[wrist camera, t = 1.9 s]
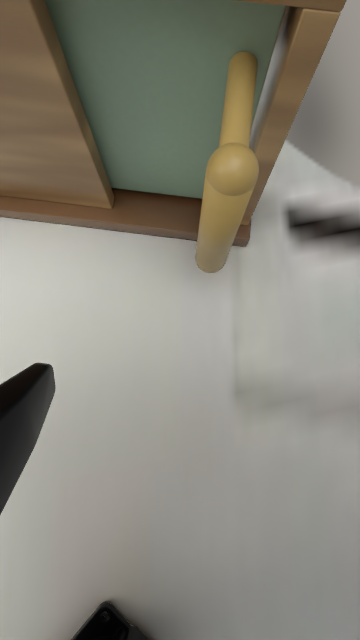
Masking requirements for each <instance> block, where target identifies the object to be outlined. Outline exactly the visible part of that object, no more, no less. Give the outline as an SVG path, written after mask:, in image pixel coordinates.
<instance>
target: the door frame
mask: <svg viewBox="0 0 360 640" xmlns="http://www.w3.org/2000/svg"><path fill="white" fill-rule="evenodd" d="M235 1H245V2H254V3H264V4H273V5H283V6H286V8H285V12H284V15H283V19H282V22H281V26H280V29H279V33H278V36H277V40H276V43H275V47H274V50H273V54H272V57H271V61H270V65H269V68H268V72H267V75H266V79H265V82H264V86H263V89H262V93H261V96H260V100H259V103H258V107H257V110H256V114H255V117H254V121H253V124H252V128H251V133H250V143H249V148H250V149H251V150H252V151H253V152H254V154H255V156H256V158H257V160H258V164H259V174H258V179H257V182H256V184H255V187H254V189H253V192H252V195H251V197H250V200H249V202H248V205H247V208H246V210H245V213H244V215H243V218H242V221H241V223H240V226H239V228H238V231H237V234H236V236H235V239H234V241H233V244H232V245H237V246H246V245H247V243H248V241H249V238H250V227H251V217H252V215H253V212H254V210H255V208H256V205H257V203H258V201H259V199H260V196H261V194H262V192H263V189H264V187H265V185H266V183H267V180H268V178H269V176H270V173H271V171H272V169H273V167H274V164H275V162H276V160H277V157H278V155H279V153H280V151H281V148H282V146H283V144H284V141H285V139H286V137H287V135H288V132H289V130H290V128H291V125H292V123H293V121H294V119H295V116H296V114H297V111H298V109H299V107H300V105H301V102H302V100H303V98H304V96H305V93H306V91H307V89H308V86H309V84H310V82H311V80H312V77H313V75H314V73H315V70H316V68H317V66H318V64H319V61H320V59H321V57H322V55H323V52H324V50H325V48H326V45H327V43H328V41H329V39H330V36H331V34H332V32H333V29H334V27H335V25H336V22H337V20H338V18H339V16H340V11H341V10H342V9H343V7H344V5H345V2H346V0H235ZM201 207H202V199H201V198H193V197H185V196H176V195H168V194H160V193H151V192H143V191H134V190H126V189H118V188H111V185H110V183H109V180H108V177H107V174H106V171H105V168H104V166H103V163H102V160H101V157H100V154H99V152H98V149H97V146H96V143H95V140H94V138H93V135H92V132H91V129H90V126H89V124H88V121H87V118H86V115H85V112H84V109H83V107H82V104H81V101H80V98H79V95H78V93H77V90H76V87H75V84H74V81H73V79H72V76H71V73H70V70H69V67H68V64H67V62H66V59H65V56H64V53H63V50H62V48H61V45H60V42H59V39H58V36H57V34H56V31H55V28H54V25H53V22H52V20H51V17H50V14H49V11H48V8H47V5H46V3H45V0H0V217H8V218H17V219H25V220H33V221H41V222H49V223H57V224H66V225H74V226H82V227H90V228H98V229H106V230H115V231H123V232H131V233H139V234H147V235H155V236H164V237H172V238H180V239H188V240H196V241H197V239H198V231H199V223H200V215H201Z"/></svg>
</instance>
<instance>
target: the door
mask: <svg viewBox="0 0 360 640" xmlns="http://www.w3.org/2000/svg"><path fill="white" fill-rule="evenodd" d="M45 3H46V5H47V8H48V11H49V14H50V17H51V20H52V22H53V25H54V28H55V31H56V34H57V36H58V39H59V42H60V45H61V48H62V50H63V53H64V56H65V59H66V62H67V64H68V67H69V70H70V73H71V76H72V79H73V81H74V84H75V87H76V90H77V93H78V95H79V98H80V101H81V104H82V107H83V109H84V112H85V115H86V118H87V121H88V124H89V126H90V129H91V132H92V135H93V138H94V140H95V143H96V146H97V149H98V152H99V154H100V157H101V160H102V163H103V166H104V168H105V171H106V174H107V177H108V180H109V183H110V185H111V188H118V189H126V190H134V191H143V192H151V193H160V194H168V195H176V196H185V197H193V198H201V199H202V207H201V215H200V223H199V231H198V239H197V247H196V255H195V259H196V263H197V265H198V267H199V268H200V269H201V270H202V271H204V272H207V273H214V272H217V271H219V270H220V269H221V268H222V267H223V266H224V264H225V262H226V260H227V257H228V254H229V252H230V249H231V247H232V244H233V241H234V239H235V236H236V234H237V231H238V228H239V226H240V223H241V221H242V218H243V215H244V213H245V210H246V208H247V205H248V202H249V200H250V197H251V195H252V192H253V189H254V187H255V184H256V182H257V179H258V174H259V164H258V160H257V158H256V156H255V154H254V152H253V151H252V150H251V149H250V148H249V143H250V133H251V128H252V124H253V121H254V117H255V114H256V110H257V107H258V103H259V100H260V96H261V93H262V89H263V86H264V82H265V79H266V75H267V72H268V68H269V65H270V61H271V57H272V54H273V50H274V47H275V43H276V40H277V36H278V33H279V29H280V26H281V22H282V19H283V15H284V12H285V8H286V6H283V5H273V4H264V3H254V2H245V1H235V0H45Z"/></svg>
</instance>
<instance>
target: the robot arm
mask: <svg viewBox="0 0 360 640" xmlns="http://www.w3.org/2000/svg"><path fill="white" fill-rule="evenodd" d="M54 393H55V379H54V372H53V367H52V366H51V365H50V364H44V363H35V364H33V365H31V366H30V367H28V368H27V369H25V370H23V371H22V372H20V373H18V374H17V375H15V376H14V377H12V378H10V379H9V380H7V381H5V382H4V383H2V384H1V385H0V515H1V513H2V511H3V509H4V507H5V505H6V503H7V501H8V499H9V497H10V495H11V493H12V491H13V489H14V487H15V485H16V483H17V481H18V479H19V477H20V475H21V473H22V471H23V469H24V467H25V465H26V463H27V461H28V459H29V457H30V455H31V453H32V451H33V449H34V447H35V444H36V442H37V439H38V437H39V434H40V431H41V429H42V426H43V423H44V421H45V418H46V415H47V413H48V410H49V407H50V404H51V402H52V399H53V396H54ZM102 612H107V613H108V614H109V616H107V617H104V616H103V615H102ZM71 640H148V639H147V638H146V637H145V636H144V635H143V634H142V632H141V631H140V630H139V629H138V628H137V627H135V626H131V624H130V623H129V622H128V621H127V620H126V619H125V618H124V617H123V616H122V615H121V614H120V613H119V612H118V610H117V609H116V608H115V607H114V606H113V605H112V604H110V603H108V602H105V603H102V604H101V605H100V606H99V607H98V608H97V609H96V611H95V612H94V613H93V614H92V615H91V617H90V618H89V619H88V620H87V621H86V622H85V624H84V625H83V626H82V627H81V628H80V630H79V631H78V632H77V633H76V634H75V636H74V637H73V638H72V639H71Z"/></svg>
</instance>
